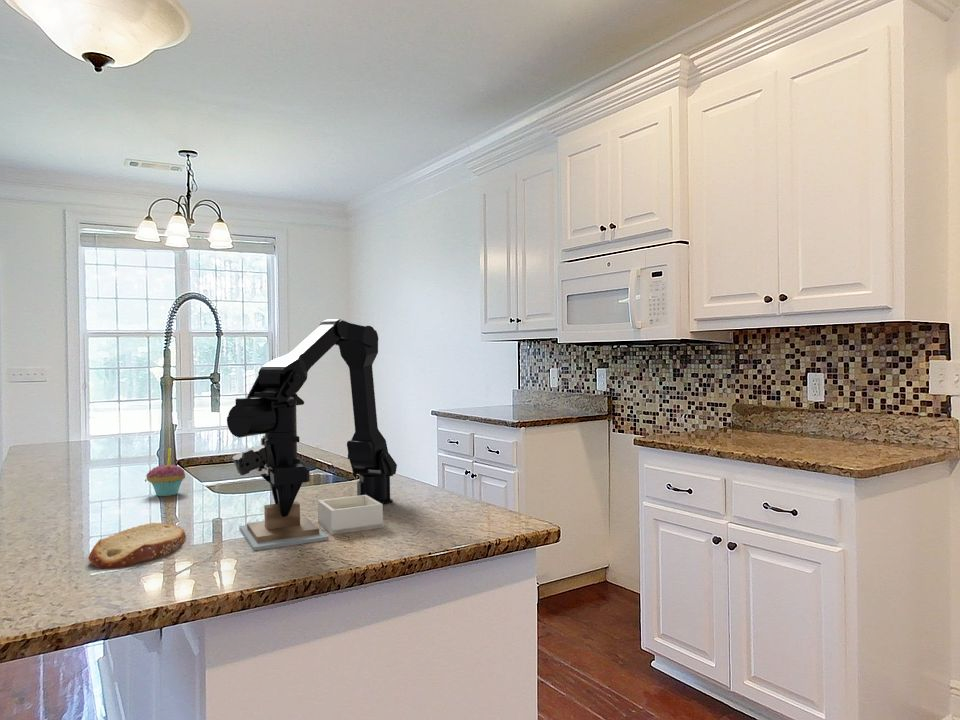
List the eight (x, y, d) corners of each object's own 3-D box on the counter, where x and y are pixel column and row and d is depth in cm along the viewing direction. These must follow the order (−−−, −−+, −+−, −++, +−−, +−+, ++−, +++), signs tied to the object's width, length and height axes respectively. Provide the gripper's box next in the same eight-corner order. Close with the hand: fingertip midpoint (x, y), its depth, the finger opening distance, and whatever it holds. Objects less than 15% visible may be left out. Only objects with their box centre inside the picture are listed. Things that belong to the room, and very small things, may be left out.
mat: (306, 520, 136) (306, 517, 136) (328, 539, 122) (328, 536, 122) (239, 529, 130) (239, 526, 130) (253, 550, 116) (253, 547, 116)
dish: (366, 516, 139) (366, 494, 139) (383, 527, 130) (382, 504, 130) (318, 522, 134) (317, 500, 134) (331, 534, 126) (331, 510, 125)
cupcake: (193, 492, 165) (192, 443, 164) (160, 499, 157) (159, 448, 157) (171, 489, 169) (171, 441, 169) (139, 495, 162) (138, 445, 162)
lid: (305, 520, 134) (304, 495, 134) (319, 534, 124) (318, 506, 124) (247, 528, 128) (246, 502, 128) (257, 542, 119) (256, 514, 119)
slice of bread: (171, 531, 131) (170, 512, 131) (212, 549, 118) (212, 528, 118) (66, 552, 118) (65, 530, 118) (100, 575, 105) (99, 551, 105)
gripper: (228, 428, 130) (229, 509, 131) (243, 439, 114) (245, 531, 114) (286, 425, 136) (288, 502, 136) (309, 435, 119) (311, 523, 119)
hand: (282, 514), depth 126 cm, fingers open, 4 cm apart
